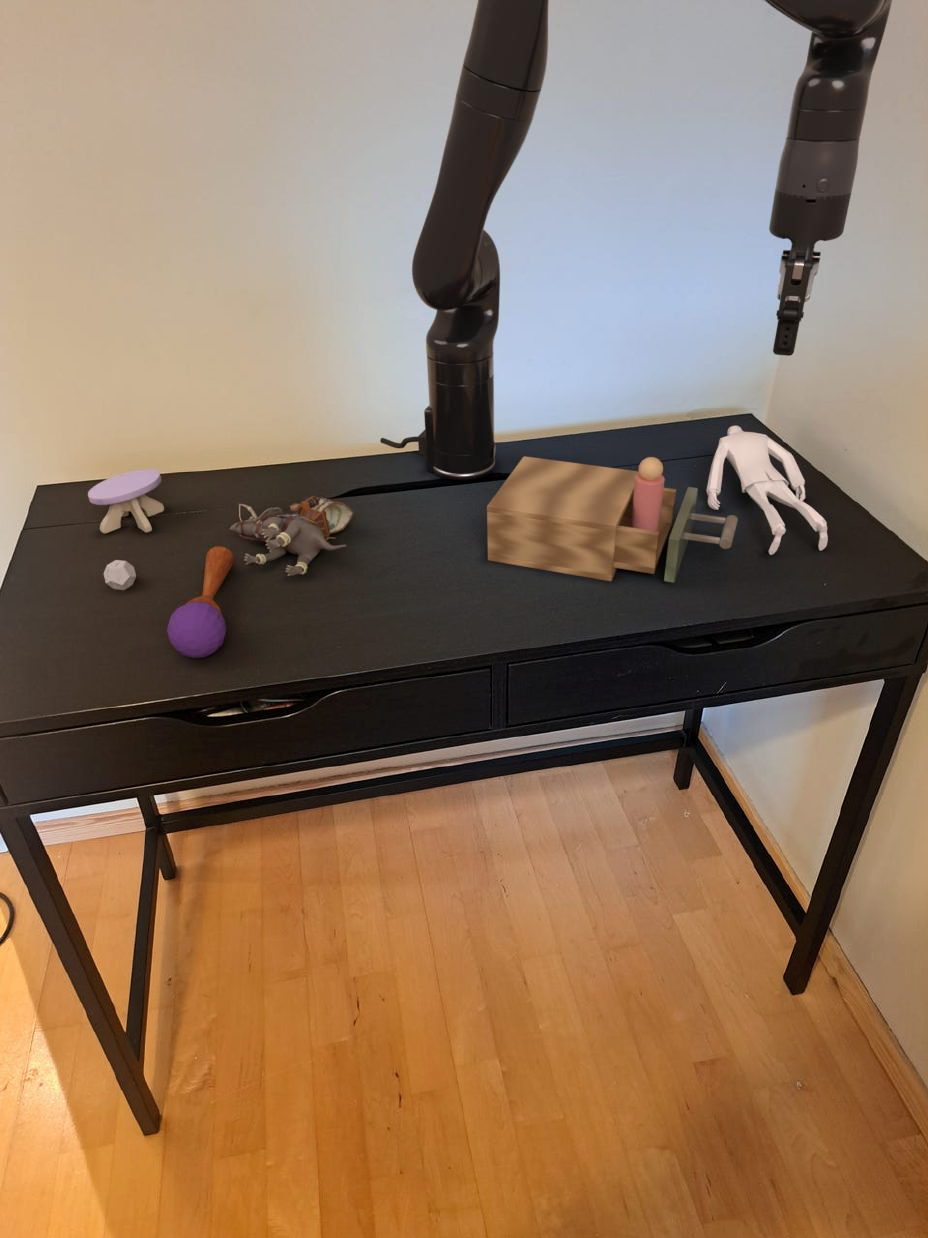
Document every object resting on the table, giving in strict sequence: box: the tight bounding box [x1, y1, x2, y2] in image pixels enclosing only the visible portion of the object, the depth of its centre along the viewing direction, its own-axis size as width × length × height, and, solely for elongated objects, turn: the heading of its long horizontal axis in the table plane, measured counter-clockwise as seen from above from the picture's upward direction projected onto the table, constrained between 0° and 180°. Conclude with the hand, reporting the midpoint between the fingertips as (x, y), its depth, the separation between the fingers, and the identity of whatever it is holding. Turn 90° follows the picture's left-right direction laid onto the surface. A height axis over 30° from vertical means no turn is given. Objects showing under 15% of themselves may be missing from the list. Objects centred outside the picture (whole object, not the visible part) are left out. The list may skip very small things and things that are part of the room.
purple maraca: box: [166, 546, 235, 659], centre depth 102 cm, size 6×6×20 cm
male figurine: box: [706, 425, 829, 556], centre depth 119 cm, size 14×6×25 cm
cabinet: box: [486, 456, 639, 582], centre depth 112 cm, size 16×15×8 cm
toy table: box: [87, 468, 165, 534], centre depth 121 cm, size 10×9×6 cm
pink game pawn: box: [631, 456, 666, 532], centre depth 107 cm, size 3×3×11 cm
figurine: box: [229, 495, 355, 577], centre depth 114 cm, size 20×6×17 cm
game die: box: [103, 559, 137, 591], centre depth 108 cm, size 4×4×3 cm
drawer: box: [614, 486, 739, 584], centre depth 109 cm, size 20×13×6 cm
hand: (785, 341), depth 102 cm, fingers open, 8 cm apart
